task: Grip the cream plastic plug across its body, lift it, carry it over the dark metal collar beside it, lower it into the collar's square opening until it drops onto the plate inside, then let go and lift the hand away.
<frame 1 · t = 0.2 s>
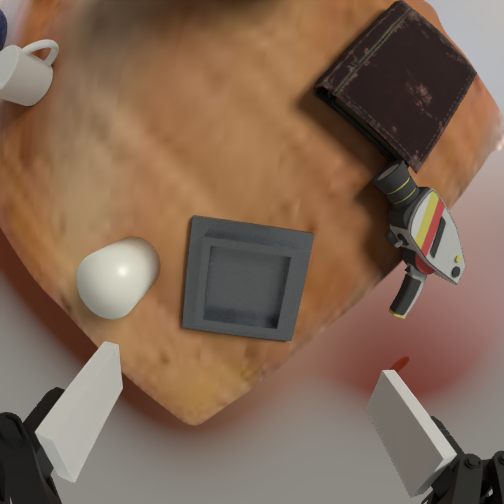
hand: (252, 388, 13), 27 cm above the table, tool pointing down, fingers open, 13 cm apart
diary: (400, 82, 35), on the table, touching film camera
mug: (43, 76, 32), on the table
plug: (134, 264, 39), on the table
film camera: (394, 240, 40), on the table, touching diary
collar: (245, 281, 40), on the table
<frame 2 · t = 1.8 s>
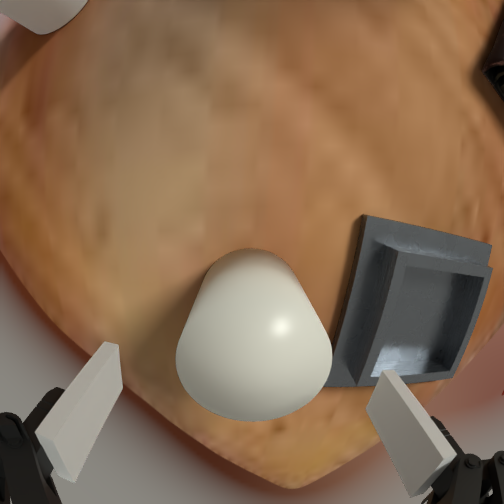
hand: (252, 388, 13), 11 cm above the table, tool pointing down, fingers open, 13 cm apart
plug: (250, 296, 24), on the table
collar: (415, 311, 24), on the table
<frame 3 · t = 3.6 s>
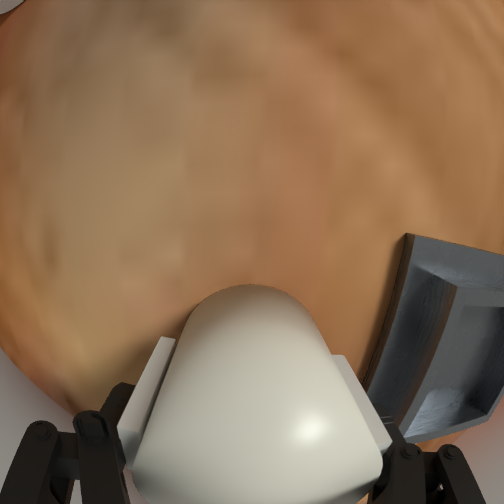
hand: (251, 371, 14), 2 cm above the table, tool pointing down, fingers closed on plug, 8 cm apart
plug: (250, 349, 16), on the table, touching gripper
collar: (455, 351, 17), on the table
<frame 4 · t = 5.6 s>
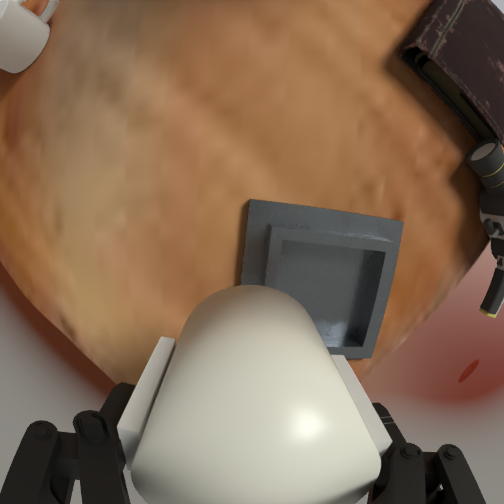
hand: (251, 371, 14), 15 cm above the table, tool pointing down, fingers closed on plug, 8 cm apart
diary: (472, 57, 24), on the table, touching film camera
mug: (37, 37, 22), on the table
plug: (249, 349, 16), point 13 cm above the table, touching gripper
film camera: (482, 229, 29), on the table, touching diary
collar: (318, 287, 29), on the table
when the fingers open (5 cm above the table, at t = 7.9 s): plug drops 2 cm, resting on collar.
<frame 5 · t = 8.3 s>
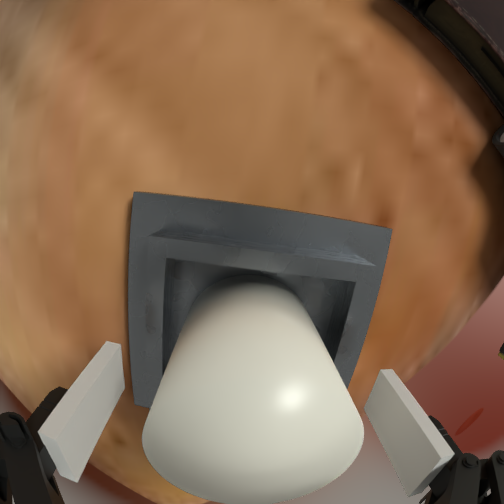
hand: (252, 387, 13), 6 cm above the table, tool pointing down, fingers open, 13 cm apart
diary: (489, 17, 14), on the table, touching film camera
plug: (247, 335, 18), point 1 cm above the table, touching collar
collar: (249, 328, 19), on the table
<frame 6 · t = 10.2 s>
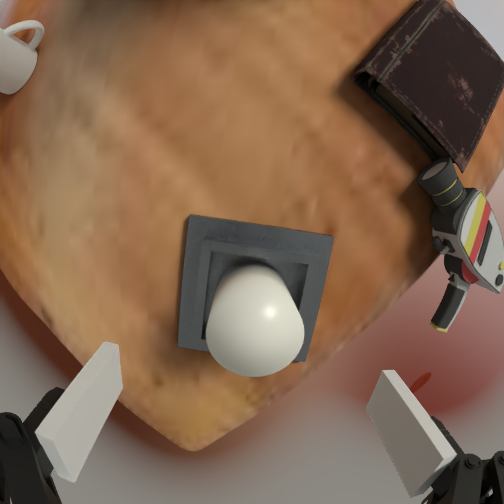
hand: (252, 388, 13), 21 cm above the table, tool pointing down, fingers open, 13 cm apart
diary: (437, 75, 29), on the table, touching film camera
mug: (27, 62, 26), on the table
plug: (251, 295, 33), point 1 cm above the table, touching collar
film camera: (435, 246, 34), on the table, touching diary
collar: (251, 293, 34), on the table
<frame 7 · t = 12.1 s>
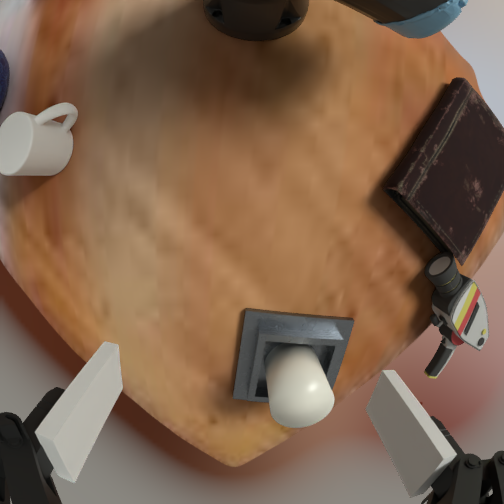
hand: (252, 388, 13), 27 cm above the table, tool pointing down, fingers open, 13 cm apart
diary: (453, 168, 37), on the table, touching film camera
mug: (61, 140, 34), on the table
plug: (291, 363, 41), point 1 cm above the table, touching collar
film camera: (433, 314, 42), on the table, touching diary
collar: (290, 360, 42), on the table
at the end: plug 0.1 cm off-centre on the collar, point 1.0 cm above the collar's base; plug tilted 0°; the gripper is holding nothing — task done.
